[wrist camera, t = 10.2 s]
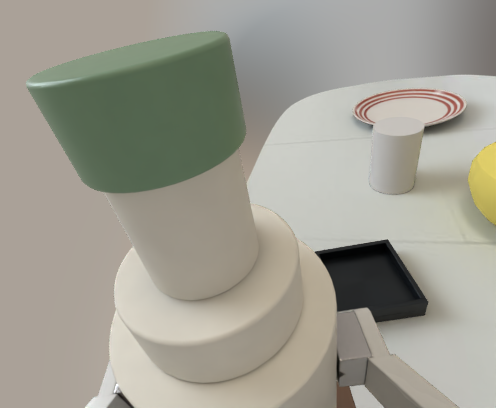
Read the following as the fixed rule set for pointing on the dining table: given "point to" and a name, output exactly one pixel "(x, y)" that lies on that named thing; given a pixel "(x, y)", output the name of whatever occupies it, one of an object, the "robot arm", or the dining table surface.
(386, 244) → the black square tray
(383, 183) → the white cylinder
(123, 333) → the bottle
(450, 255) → the dining table surface
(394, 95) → the dinner plate
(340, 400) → the brown wooden stool
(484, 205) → the vase
